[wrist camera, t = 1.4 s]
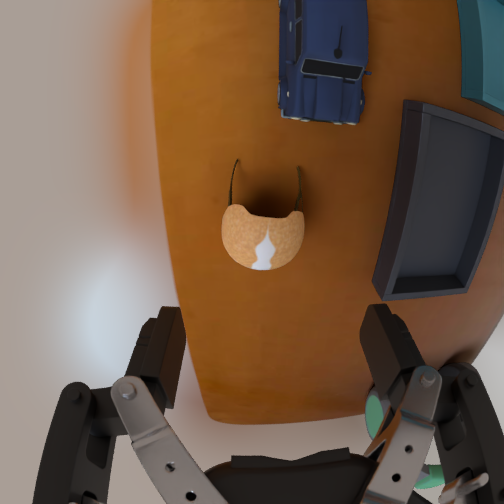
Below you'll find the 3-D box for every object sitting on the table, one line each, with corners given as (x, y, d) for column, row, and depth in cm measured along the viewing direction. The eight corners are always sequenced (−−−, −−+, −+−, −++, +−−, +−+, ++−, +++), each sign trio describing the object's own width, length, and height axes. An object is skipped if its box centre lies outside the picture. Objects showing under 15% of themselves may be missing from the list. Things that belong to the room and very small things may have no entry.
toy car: (276, 118, 19) (286, 124, 14) (278, -23, 13) (287, -55, 8) (353, 124, 19) (384, 135, 14) (355, -11, 13) (384, -35, 8)
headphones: (357, 404, 41) (379, 508, 23) (375, 368, 35) (412, 495, 18) (443, 383, 40) (476, 466, 23) (469, 345, 35) (515, 439, 18)
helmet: (229, 175, 24) (219, 267, 23) (229, 140, 17) (215, 264, 17) (295, 182, 25) (289, 273, 24) (316, 151, 18) (311, 272, 17)
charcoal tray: (403, 99, 18) (423, 102, 15) (492, 128, 18) (512, 135, 15) (371, 281, 27) (381, 301, 24) (453, 276, 27) (466, 293, 24)
